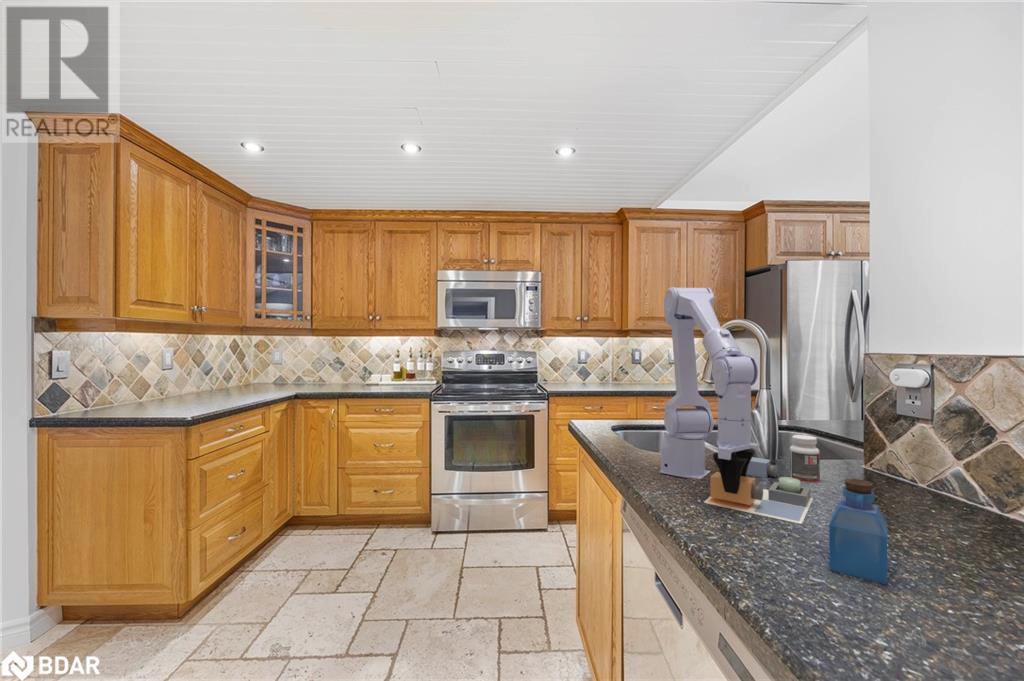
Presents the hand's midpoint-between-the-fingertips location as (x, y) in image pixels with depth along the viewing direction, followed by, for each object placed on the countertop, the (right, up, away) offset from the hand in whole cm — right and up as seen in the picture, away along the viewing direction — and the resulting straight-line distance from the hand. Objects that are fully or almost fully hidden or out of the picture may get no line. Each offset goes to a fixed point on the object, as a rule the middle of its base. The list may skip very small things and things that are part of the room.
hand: (734, 489), depth 87 cm
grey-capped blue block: (+13, -3, +19) cm, 24 cm away
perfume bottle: (+6, -3, -24) cm, 25 cm away
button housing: (+12, -2, +1) cm, 12 cm away
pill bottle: (+23, -3, +15) cm, 28 cm away
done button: (+12, -1, +1) cm, 12 cm away
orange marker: (0, -2, 0) cm, 2 cm away
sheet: (+5, -3, +1) cm, 6 cm away
